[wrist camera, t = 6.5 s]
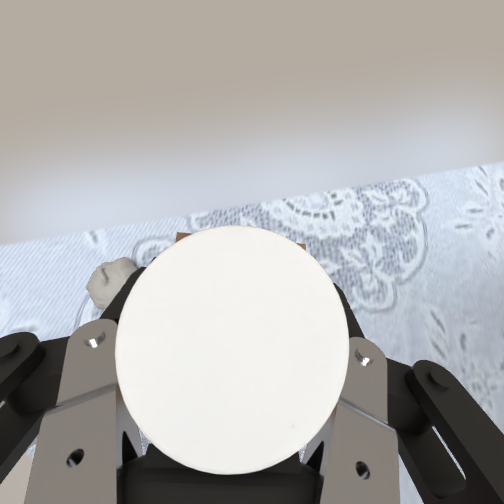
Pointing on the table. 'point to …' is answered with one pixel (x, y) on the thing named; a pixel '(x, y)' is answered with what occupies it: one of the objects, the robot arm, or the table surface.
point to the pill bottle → (232, 349)
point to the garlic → (109, 281)
